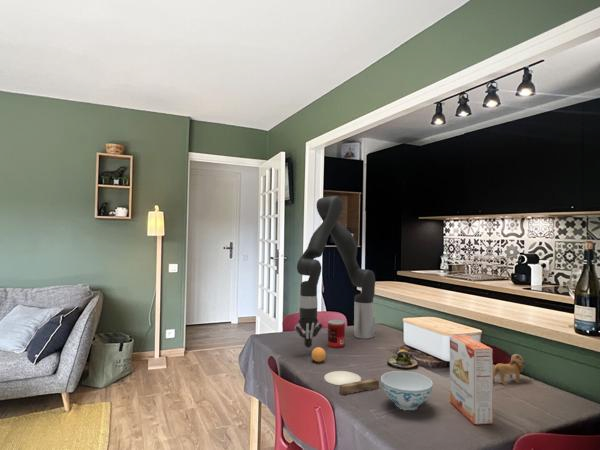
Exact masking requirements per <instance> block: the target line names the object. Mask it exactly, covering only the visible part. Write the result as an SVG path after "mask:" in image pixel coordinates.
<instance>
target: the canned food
mask: <svg viewBox="0 0 600 450" xmlns="http://www.w3.org/2000/svg"><path fill="white" fill-rule="evenodd" d="M345 325H346V323H345V320H341V319H330V320H328V321H327V345H328V347H329V348H333V349H340V348H344V347H345V343H346V342H345V341H346V339H345V336H346V332H345V331H346V326H345Z"/></svg>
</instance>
